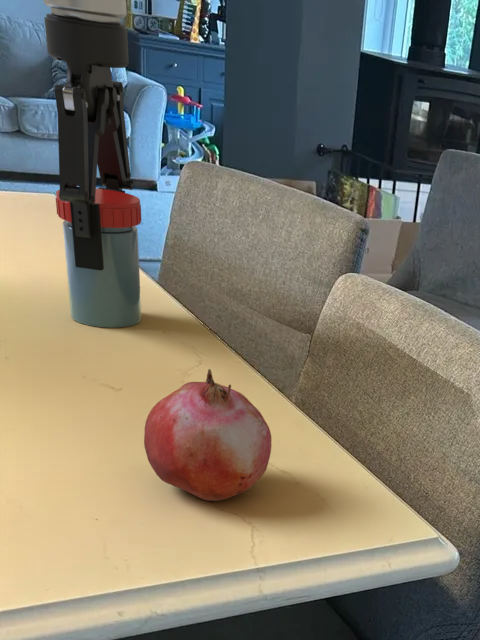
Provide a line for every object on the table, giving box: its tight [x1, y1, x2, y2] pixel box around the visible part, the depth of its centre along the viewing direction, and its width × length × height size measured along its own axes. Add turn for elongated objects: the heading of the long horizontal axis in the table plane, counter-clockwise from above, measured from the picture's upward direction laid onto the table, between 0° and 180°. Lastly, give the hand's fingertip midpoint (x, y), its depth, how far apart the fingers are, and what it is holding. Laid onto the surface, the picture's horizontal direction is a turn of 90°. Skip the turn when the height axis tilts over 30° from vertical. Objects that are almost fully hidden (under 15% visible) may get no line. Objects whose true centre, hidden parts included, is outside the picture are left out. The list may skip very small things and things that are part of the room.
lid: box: [55, 187, 142, 228], centre depth 95 cm, size 8×8×2 cm
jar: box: [62, 220, 142, 329], centre depth 98 cm, size 8×8×12 cm
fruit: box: [143, 368, 272, 502], centre depth 67 cm, size 9×10×10 cm
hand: (103, 258), depth 98 cm, fingers closed on lid, 8 cm apart
